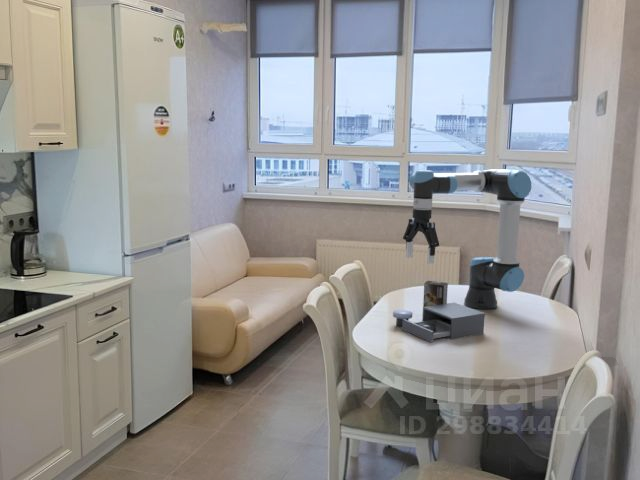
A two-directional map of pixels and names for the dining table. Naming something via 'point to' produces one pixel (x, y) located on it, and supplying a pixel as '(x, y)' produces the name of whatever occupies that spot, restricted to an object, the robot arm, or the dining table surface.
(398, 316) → the light blue dome
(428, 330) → the tray
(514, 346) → the dining table surface
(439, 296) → the coffee box
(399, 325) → the short dark gray cylinder
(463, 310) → the gray drawer box
